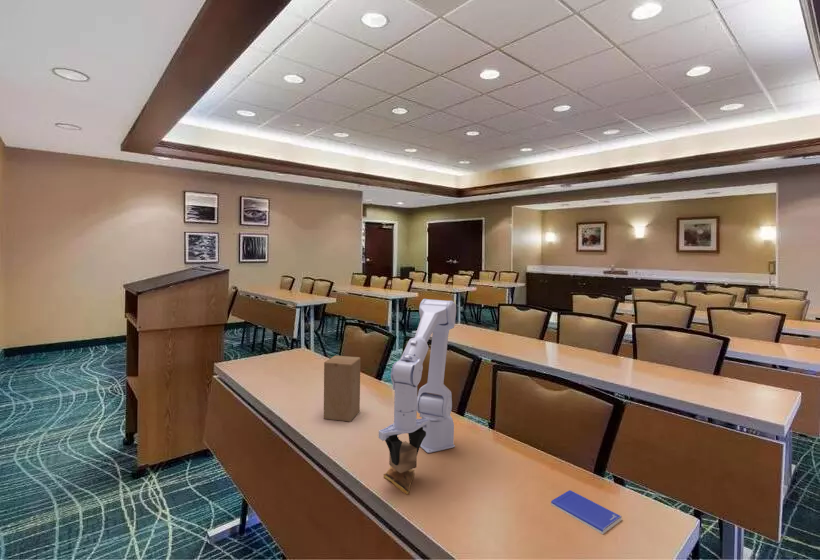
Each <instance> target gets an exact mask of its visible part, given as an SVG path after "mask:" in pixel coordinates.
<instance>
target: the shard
mask: <svg viewBox="0 0 820 560" xmlns="http://www.w3.org/2000/svg"><path fill="white" fill-rule="evenodd" d="M414 475H415V469H411V470H408V471H405V472H402V473H399V472H398V471H397V470H395V469H394V468H393V467H392V466H390V465H389V468H388V470H387V471H386V472H385V473H384V474H383V478H384V479H385V480H388V481H389V482H391V483H392V485H394V486H395V487H396V488H397V489H398V490H400V492H402V493H405V494H406V495H409V493H410V490H411V483H412V481H413V479H414Z"/></svg>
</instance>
